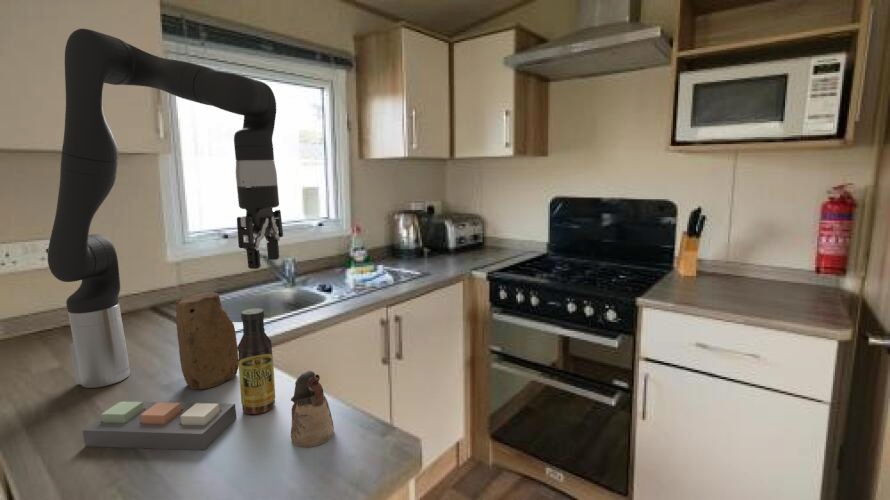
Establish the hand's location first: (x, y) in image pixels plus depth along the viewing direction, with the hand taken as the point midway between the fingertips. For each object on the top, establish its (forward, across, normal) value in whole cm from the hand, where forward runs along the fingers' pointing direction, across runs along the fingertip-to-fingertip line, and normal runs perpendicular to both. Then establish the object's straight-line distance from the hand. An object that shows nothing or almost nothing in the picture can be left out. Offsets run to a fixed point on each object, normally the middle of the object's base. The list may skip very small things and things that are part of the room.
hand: (264, 263), depth 95 cm
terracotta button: (+25, +17, -13) cm, 33 cm away
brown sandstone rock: (+28, -3, -16) cm, 32 cm away
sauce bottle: (+28, +8, +1) cm, 29 cm away
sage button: (+25, +17, -21) cm, 37 cm away
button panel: (+27, +17, -13) cm, 35 cm away
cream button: (+25, +17, -6) cm, 31 cm away
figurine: (+27, +18, +15) cm, 36 cm away
